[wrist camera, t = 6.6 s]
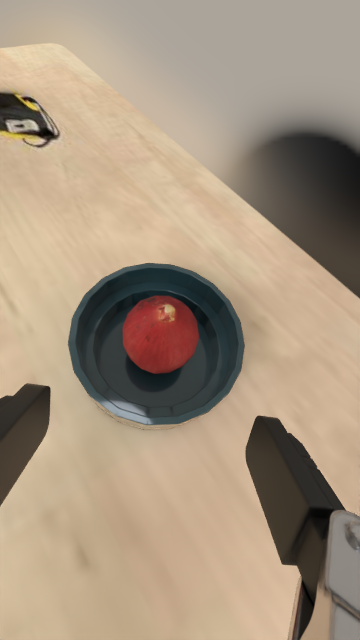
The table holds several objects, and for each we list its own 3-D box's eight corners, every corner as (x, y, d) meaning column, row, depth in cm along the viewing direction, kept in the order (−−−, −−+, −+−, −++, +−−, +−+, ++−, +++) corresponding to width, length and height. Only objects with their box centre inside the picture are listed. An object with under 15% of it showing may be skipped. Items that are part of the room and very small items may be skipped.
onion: (114, 335, 22) (104, 284, 15) (170, 313, 24) (185, 259, 17) (140, 395, 20) (143, 367, 13) (199, 365, 22) (229, 328, 15)
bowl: (52, 335, 22) (34, 311, 18) (168, 272, 27) (174, 242, 23) (138, 468, 18) (139, 473, 14) (252, 366, 24) (276, 350, 20)
